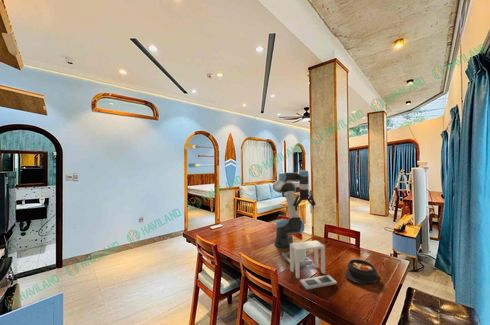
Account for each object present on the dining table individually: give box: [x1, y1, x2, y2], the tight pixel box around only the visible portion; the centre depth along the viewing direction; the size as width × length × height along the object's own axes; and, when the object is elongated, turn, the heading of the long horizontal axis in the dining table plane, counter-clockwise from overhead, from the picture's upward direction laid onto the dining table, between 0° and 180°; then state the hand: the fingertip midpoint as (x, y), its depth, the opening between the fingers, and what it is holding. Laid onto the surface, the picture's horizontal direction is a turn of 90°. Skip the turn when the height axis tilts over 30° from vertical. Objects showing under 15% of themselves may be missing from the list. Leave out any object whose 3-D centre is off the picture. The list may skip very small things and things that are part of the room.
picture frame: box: [281, 235, 313, 268], centre depth 156 cm, size 21×16×15 cm
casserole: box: [344, 259, 379, 285], centre depth 133 cm, size 25×19×8 cm
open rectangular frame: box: [289, 240, 338, 290], centre depth 134 cm, size 22×22×20 cm
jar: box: [293, 241, 307, 263], centre depth 151 cm, size 11×10×15 cm
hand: (304, 213), depth 165 cm, fingers open, 13 cm apart
